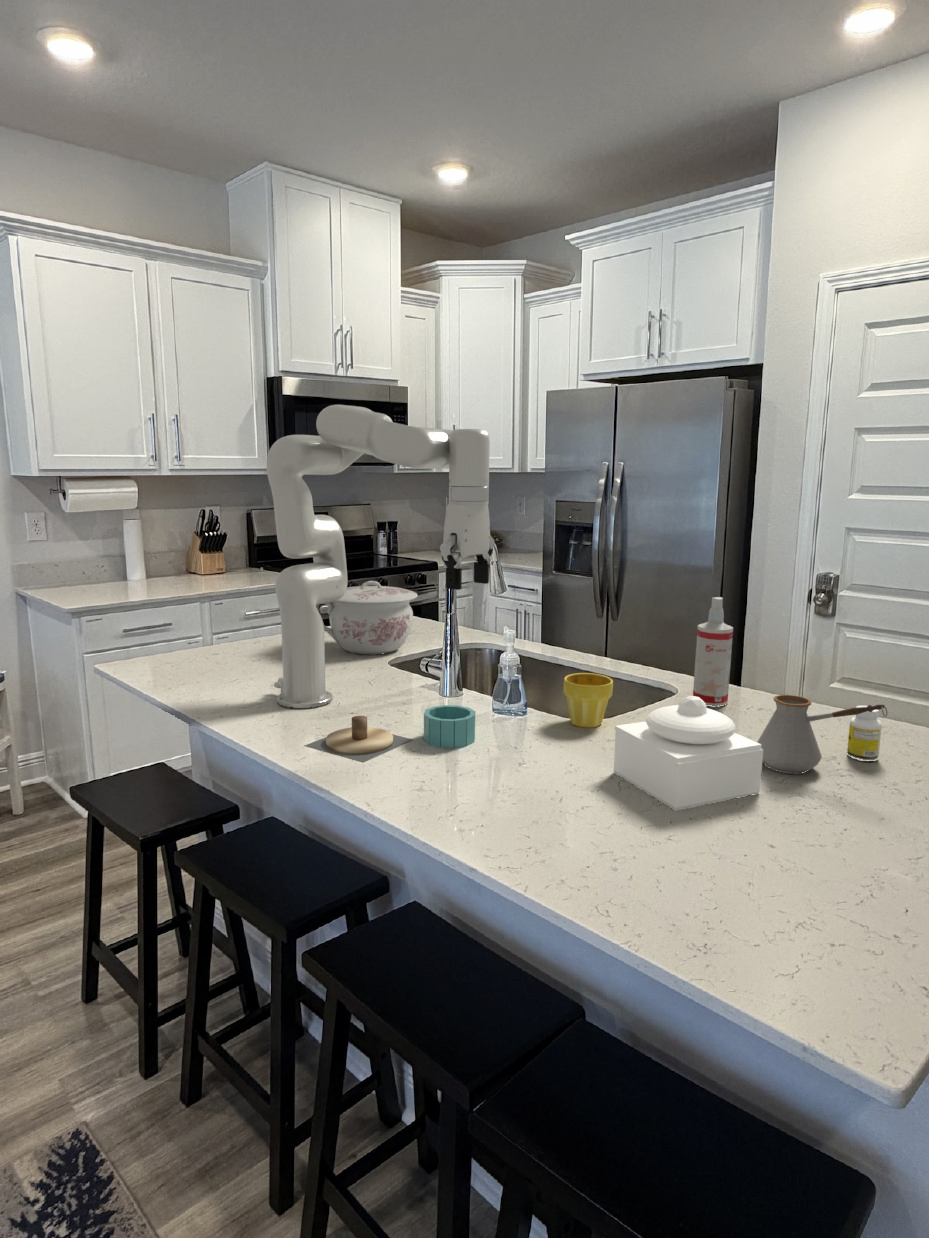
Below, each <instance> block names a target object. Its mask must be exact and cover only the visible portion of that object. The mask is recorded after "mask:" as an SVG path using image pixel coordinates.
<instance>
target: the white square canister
mask: <svg viewBox="0 0 929 1238" xmlns="http://www.w3.org/2000/svg"><path fill="white" fill-rule="evenodd" d="M614 730H615V736H614V737H615V738H614V758H613V759H614V760H613V774H615V773H616V774H618V775H619V776H621V777H623V778H624V779H625V781H626V780H627V781H626V782H628V781H629V782H630V783H629V782H628V783H629V784H631V783H632V784H634V785H635V786H634V785H633V786H634V787H635V788H637V787H639V788H640V789H639V788H638V789H639V790H641V791H642V790H644V791H645V792H646V793H645V792H644V791H643V792H644V793H645V794H647V795H649V794H650V795H651V797H652V796H653V797H655V798H656V799H655V798H654V799H655V800H657V801H658V800H659V802H660V801H661V802H660V803H661V804H663V803H664V805H665V804H666V805H667V807H668V806H669V807H668V808H670V809H671V808H672V809H671V810H673V811H675V812H678V811H682V809H683V810H687V808H688V809H693V808H698V807H702V806H701V805H703V806H706V805H705V804H708V805H712V804H711V803H714V802H715V803H714V804H717V803H716V802H719V803H721V802H720V801H724V802H727V801H726V800H729V799H733V798H737V797H744V798H746V797H745V796H748V795H752V794H759V795H760V792H761V778H762V769H763V762H762V760H763V749H761V745H762V744H759V743H757V741H754V740H753V739H750V738H747V737H745V736H743V735H741V734H738V733H736V730H737V729H736V723H734V721H733V720H732V719H731V718H730V717H728V716H727V715H725V714H724V713H721V712H720V711H717V710H714V709H711V708H709V707H706V703H705V702H704V701H703V700H702V699H701V698H700V697H696V696H693V695H688V696H686V697H684V698H683V699H681V701H679V703H678V704H675V705H674V704H673V705H667V706H663V707H662V706H661V707H659V708H657V709H654V710H652V711H651V712H650V713H649V714H648V715H646V718H645V721H641V722H634V723H633V722H631V723H625V724H619V725H617V724H616V725H615V726H614ZM616 774H615V775H616ZM618 775H617V776H618ZM619 776H618V777H619ZM621 777H620V778H621ZM623 778H622V779H623ZM624 779H623V780H624ZM632 784H631V785H632ZM650 795H649V796H650ZM653 797H652V798H653ZM729 801H730V800H729ZM666 805H665V806H666ZM697 806H698V807H697Z"/></svg>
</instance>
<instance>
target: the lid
mask: <svg viewBox="0 0 929 1238" xmlns="http://www.w3.org/2000/svg"><path fill="white" fill-rule="evenodd" d="M351 727H352V728H351ZM351 727H345V728H340V729H338V730H334V731H332V732H330V733H329V734H328V735H327V736H325V737H326V746H327V747H328V748H329V749H330V750H332V751H335V752H339V753H344V754H369V753H375V752H379V751H383V750H385V749H387V748H389V747H390V746H391V745H392V744H393V735H394V734H393V733H391V732H390V731H388V730H386V729H383V728H379V727H370V726H368V717H367V716H365V715H354V716H352V717H351ZM392 734H393V735H392Z"/></svg>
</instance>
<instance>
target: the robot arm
mask: <svg viewBox="0 0 929 1238" xmlns="http://www.w3.org/2000/svg"><path fill="white" fill-rule="evenodd" d="M315 425H316V430H317V433H318V435H313V434H312V435H311V434H290V435H286V436H283V437H280V438H278V439H277V440H276V441H275V442H273V444H272V445H271V447H270V449H269V451H268V453H267V457H266V475H267V479H268V483H269V486H270V489H271V493H272V494H271V495H272V500H273V511H274V521H275V529H276V530H275V531H276V539H277V545H278V549H279V551H280V553H281V554H282V555H283V557H286V558H288V559H292V560H293V559H294V560H295V559H296V560H297V559H308V558H312V560H313V562H311V563H309V562H308V563H304V564H303V563H302V564H296V565H291V566H289V567H286V568H284V569H283V570H282V571H280V573H279V574H278V575H277V577H276V580H275V589H274V590H275V594H276V600H277V603H278V608H279V614H280V624H281V625H280V626H281V628H280V629H281V648H282V649H281V651H282V652H281V653H282V677H279V678H278V679H277V681H275V682H274V683H273V684H274V685H273V687H274V688H277V689H280V693H279V694H278V695H277V696H276V702H278V703H279V704H278V703H277V704H278V705H280V706H282V705H283V706H282V707H285V706H287V707H286V708H290V707H293V708H292V709H311V708H310V707H312V708H318V707H321V706H320V705H322V706H325V704H326V705H328V704H330V703H331V702H332V701H333V693H332V692H330V691H328V690H326V661H325V660H326V656H325V654H326V653H325V652H326V651H325V649H326V648H325V646H326V645H325V631H324V626H325V624H324V621H323V618H322V615H321V613H320V612H319V610H318V608H317V606H318V605H322V604H323V603H328V602H331V603H332V602H333V601H336V600H338V599H340V598H341V597H342V596H343V595H344V594H345V592H346V589H347V587H348V569H347V558H346V557H347V556H346V555H347V554H346V548H345V547H346V546H345V538H344V533H343V529H342V528H341V526H340V524H339V522H338V521H337V520H336V519H335V518H334V517H332V516H330V515H327V514H315V512H314V505H313V504H314V503H313V497H312V492H311V490H310V488H309V486H308V485H307V483H306V481H305V480H304V479H303V478H302V477H303V476H304V475H312V476H313V475H314V476H327V475H328V476H332V475H337V474H340V473H342V472H344V471H345V470H346V469H347V468H349V467H350V466H351V465H352V464H353V463H354V462H356V461H357V460H359V458H360V457H362V456H363V455H364V454H366V455H369V456H373V457H374V458H376V459H378V460H381V461H383V462H386V463H391V464H394V465H398V466H403V467H405V468H412V469H435V470H436V469H438V470H439V469H440V470H441V469H442V470H443V469H444V470H445V469H449V470H448V478H449V479H448V486H449V487H448V503H447V504H446V505H447V507H446V511H445V514H444V515H445V516H444V518H445V519H444V525H443V526H444V527H443V542H442V544H440V546H439V550H440V554H441V560H442V562H443V566H444V568H445V588H446V589H448V590H456V591H459V590H460V591H461V589H462V579H463V578H462V576H463V575H462V573H463V569H462V568H461V564H462V562H463V559H465V558H470V557H473V558H474V559H475V562H473V582H474V584H475V583H476V584H485V585H487V584H489V582H490V563H491V560H492V559H491V557H492V555H493V548H494V544H495V539H494V538H493V537H492V536H491V523H490V510H489V509H490V508H489V499H490V498H489V495H490V493H489V492H490V487H489V486H490V440H491V439H490V434H489V433H488V432H487V431H486V430H485V429H479V428H458V429H453V430H452V429H444V428H434V427H432V428H431V427H419V426H412V425H407V424H402V423H398V422H393V420H392V418H391V417H390V416H388V415H387V414H385V413H383V412H382V413H381V412H375V411H373V410H371V409H369V408H367V407H363V406H356V405H348V404H347V405H345V404H333V405H332V404H331V405H328V406H326V407H325V408H323V409H322V410H321V411H320V412H319V414H318V415H317V417H316V424H315ZM455 558H456V559H455ZM323 605H324V604H323ZM329 702H330V703H329ZM327 703H328V704H327ZM317 706H318V707H317Z"/></svg>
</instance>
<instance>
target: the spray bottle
mask: <svg viewBox="0 0 929 1238" xmlns="http://www.w3.org/2000/svg"><path fill="white" fill-rule="evenodd" d="M723 600H724V598H723V597H721V596H716V597H714V596H713V597H711V607H710V609H709V611H708V619H707V621H706V622H703V623H700V624H698V625H697V631H696V632H697V633H696V646H695V660H694V661H695V662H694V674H693V677H694V678H693V689H692V696H696V697H700V698H701V699H702V700H703V701H704V702H705V703H706V705H712V706H718V705H719V706H720V705H725V704H727V705H728V704H729V703H728V700H729V689H730V688H729V687H730V678H731V677H730V673H731V662H732V652H733V650H732V648H733V637H734V627H733V626H731V625H728V624H727V623H725V622H724V618H725V614H724V613H725V612H724V608H723Z"/></svg>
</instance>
